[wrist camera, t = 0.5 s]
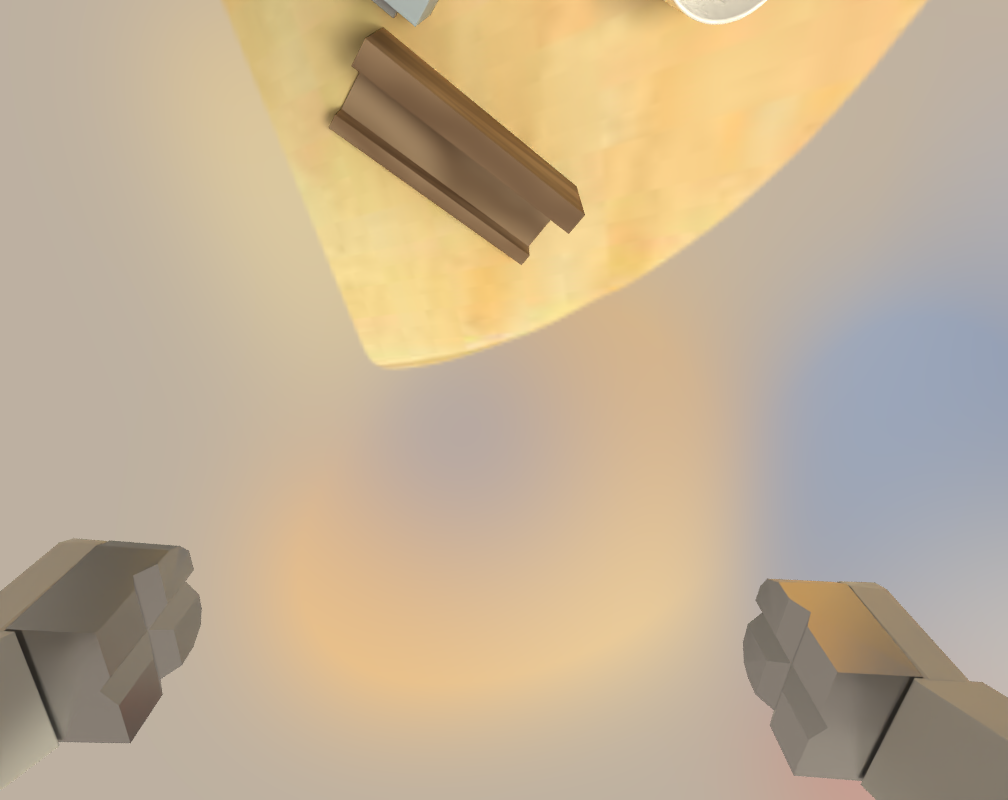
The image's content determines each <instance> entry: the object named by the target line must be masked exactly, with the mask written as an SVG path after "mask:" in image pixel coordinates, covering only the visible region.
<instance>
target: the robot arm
mask: <svg viewBox="0 0 1008 800" xmlns="http://www.w3.org/2000/svg"><path fill="white" fill-rule="evenodd" d="M193 569H194V568H193V565H192V561H191V557H190V553H189V551H188V550H186V549H184V548H182V547H181V546H172V545H158V544H146V543H134V542H121V541H100V540H87V539H71V540H67V541H64V542H60V543H58V544H57V545H56V546H55V547H53V548H52V549H51V550H50V551H49V552H47V553H46V554H45V555H44V556H42V558H40V559H39V560H38V561H36V562H35V563H34V564H33V565H32V566H30V567H29V568H28V569H27V570H26V571H24V572H23V573H22V574H21V575H20V576H18V577H17V578H16V579H15V580H14V581H12V582H11V583H10V584H9V585H7V586H6V587H5V588H4V589H3V590H1V591H0V791H1V790H2V789H3V788H5V787H6V786H7V785H9V784H10V783H11V782H12V781H14V780H15V779H16V778H18V777H19V776H20V775H22V774H23V773H24V772H25V771H27V770H28V769H30V768H31V767H32V766H33V765H35V764H36V763H37V762H39V761H40V760H41V759H43V758H44V757H45V756H47V755H48V754H49V753H51V752H52V751H53V750H54V749H56V748H57V747H58V746H59V742H95V743H131V741H132V740H133V739H134V737H135V735H136V734H137V732H138V731H139V729H140V728H141V726H142V725H143V723H144V722H145V720H146V719H147V717H148V716H149V714H150V713H151V711H152V709H153V708H154V707H155V705H156V704H157V702H158V701H159V699H160V698H161V696H162V687H161V678H163V677H164V676H166V675H167V674H169V673H170V672H172V671H173V670H175V669H177V668H178V667H180V666H181V665H182V664H183V662H184V661H185V659H186V658H187V656H188V654H189V652H190V651H191V650H192V648H193V646H194V643H195V640H196V637H197V634H198V631H199V628H200V625H201V609H202V608H201V603H200V597H199V594H198V593H197V592H196V591H195V590H194V589H193V588H192V587H191V586H190V585H189V584H188V583H187V582H185V581H186V580H187V578H188V577H189V576H190V574H191V573H192V571H193ZM756 602H757V604H758V605H759V607H760V609H761V611H762V613H761V614H760V615H759V616H758V617H756V618H755V619H754V620H752V621H751V622H750V623H749V624H748V626H747V630H746V634H745V637H744V641H743V651H744V664H745V668H746V672H747V675H748V679H749V681H750V683H751V685H752V688H753V690H754V692H755V694H756V695H757V696H758V697H759V698H760V699H761V700H763V701H764V702H765V703H766V704H767V705H769V706H770V707H771V708H772V709H773V710H774V712H773V716H772V720H771V723H770V726H771V729H772V731H773V733H774V735H775V737H776V739H777V741H778V743H779V745H780V747H781V750H782V752H783V754H784V756H785V758H786V760H787V762H788V764H789V766H790V768H791V771H792V772H793V775H794V776H807V777H820V778H833V779H845V780H857V781H862V783H861V785H862V786H863V787H864V788H865V789H866V790H867V791H868V792H869V793H870V794H871V795H872V796H873V797H874V798H875V799H876V800H1008V697H1006V696H1004V695H1003V694H1001V693H999V692H998V691H996V690H994V689H993V688H991V687H989V686H987V685H986V684H984V683H983V682H972V681H969V680H968V679H967V678H966V677H965V676H964V675H963V673H962V672H961V671H960V670H959V669H958V668H957V667H956V666H955V664H953V662H952V661H951V660H950V659H949V658H948V657H947V656H946V655H945V653H944V652H943V651H942V650H941V649H940V648H939V647H938V646H937V645H936V644H935V642H934V641H933V640H932V639H931V638H930V637H929V636H928V635H927V633H926V632H925V631H924V630H923V629H922V628H921V627H920V626H919V625H918V623H917V622H916V621H915V620H914V619H913V618H912V617H911V616H910V615H909V614H908V612H907V611H906V610H905V609H904V608H903V607H902V606H901V605H900V604H899V602H898V601H897V600H896V599H895V598H894V597H893V596H892V595H891V594H890V592H889V591H888V590H887V589H885V588H884V587H882V586H880V585H878V584H876V583H871V582H842V581H840V582H824V581H803V580H783V579H767V580H766V581H765V582H764V583H763V584H762V585H761V586H760V589H759V592H758V595H757V598H756Z"/></svg>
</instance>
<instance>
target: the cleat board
mask: <svg viewBox="0 0 1008 800" xmlns="http://www.w3.org/2000/svg"><path fill="white" fill-rule="evenodd" d="M352 67H353V68H355V69H356V70H357V71H359V72H360V73H359V75H358V77H357V79H356V81H355V83H354V85H353V87H352V89H351V91H350V93H349V95H348V97H347V99H346V101H345V103H344V105H343V107H342V109H341V110H340V111H339V112H338V113H336V114H335V116H334V118H333V120H332V122H331V124H330V126H329V128H330V129H331V130H333V131H334V132H335V133H337V134H338V135H340V136H341V137H342V138H344V139H345V140H347V141H348V142H350V143H351V144H352V145H354V146H355V147H357V148H358V149H359V150H361V151H362V152H364V153H365V154H366V155H368V156H369V157H371V158H372V159H373V160H375V161H376V162H378V163H379V164H380V165H382V166H383V167H385V168H386V169H387V170H389V171H390V172H392V173H393V174H394V175H396V176H397V177H399V178H400V179H401V180H403V181H404V182H406V183H407V184H408V185H410V186H411V187H413V188H414V189H415V190H417V191H418V192H420V193H421V194H422V195H424V196H425V197H427V198H428V199H430V200H431V201H432V202H434V203H435V204H437V205H438V206H439V207H441V208H442V209H444V210H445V211H446V212H448V213H449V214H451V215H452V216H453V217H455V218H456V219H458V220H459V221H460V222H462V223H463V224H465V225H466V226H467V227H469V228H470V229H472V230H473V231H474V232H476V233H477V234H479V235H480V236H481V237H483V238H484V239H486V240H487V241H488V242H490V243H491V244H493V245H494V246H495V247H497V248H498V249H500V250H501V251H503V252H504V253H505V254H507V255H508V256H510V257H511V258H512V259H514V260H515V261H517V262H518V263H519V264H521V265H522V264H523V263H524V261H525V260H526V259H527V258H528V257H529V245H530V244H531V243H532V242H533V240H534V239H535V238H536V237H537V236H538V234H539V233H540V232H541V231H542V229H543V228H544V227H545V226H546V225H547V223H548V222H549V221H550V220H551V221H553V222H554V223H555V224H557V225H558V226H559V227H560V228H562V229H563V230H564V231H566V232H567V233H568V234H569V233H570V232H571V231H572V229H573V228H574V227H575V226H576V225H577V224H578V222H579V221H580V220H581V219H582V218H583V217H584V215H585V214H584V210H583V207H582V204H581V200H580V197H579V194H578V190H577V187H576V186H575V185H574V184H573V183H572V182H570V181H569V180H568V179H567V178H565V177H564V176H563V175H562V174H561V173H559V172H558V171H557V170H556V169H555V168H553V167H552V166H551V165H550V164H548V163H547V162H546V161H545V160H544V159H542V158H541V157H540V156H539V155H538V154H536V153H535V152H534V151H533V150H531V149H530V148H529V147H528V146H527V145H525V144H524V143H523V142H522V141H521V140H519V139H518V138H517V137H516V136H514V135H513V134H512V133H511V132H510V131H508V130H507V129H506V128H505V127H504V126H502V125H501V124H500V123H499V122H497V121H496V120H495V119H494V118H493V117H491V116H490V115H489V114H488V113H487V112H485V111H484V110H483V109H482V108H480V107H479V106H478V105H477V104H476V103H474V102H473V101H472V100H471V99H469V98H468V97H467V96H466V95H465V94H463V93H462V92H461V91H460V90H459V89H457V88H456V87H455V86H454V85H452V84H451V83H450V82H449V81H448V80H446V79H445V78H444V77H443V76H442V75H440V74H439V73H438V72H437V71H435V70H434V69H433V68H432V67H431V66H429V65H428V64H427V63H426V62H425V61H423V60H422V59H421V58H420V57H418V56H417V55H416V54H415V53H414V52H412V51H411V50H410V49H409V48H408V47H406V46H405V45H404V44H403V43H401V42H400V41H399V40H398V39H397V38H395V37H394V36H393V35H392V34H391V33H389V32H388V31H387V30H386V29H384V28H381V29H380V30H378V31H376V32H375V33H373V34H371V35H370V36H368V37H366V38H365V39H364V41H363V43H362V45H361V47H360V49H359V52H358V54H357V56H356V58H355V60H354V62H353V64H352Z"/></svg>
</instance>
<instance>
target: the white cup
mask: <svg viewBox="0 0 1008 800" xmlns="http://www.w3.org/2000/svg"><path fill="white" fill-rule="evenodd" d="M664 1H665V2H667V3H668V4H669V5H670V6H672V7H673V8H675V9H677V10H678V11H680V12H682V13H684V14H685V15H687V16H689V17H690V18H692V19H694V20H696V21H698V22H701V23H706V24H726V23H730V22H734V21H736V20H739V19H741V18H743V17H745V16H747V15H749V14H750V13H752V12H754V11H755V10H756V9H758V8H759V7H760V6H761V5H763V4H764V3H765V2H766V1H767V0H664Z"/></svg>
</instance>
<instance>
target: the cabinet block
mask: <svg viewBox="0 0 1008 800" xmlns="http://www.w3.org/2000/svg"><path fill="white" fill-rule="evenodd" d="M372 1H373V2H374V3H376V4H377V5H378V6H379V7H380V8H382V9H383V10H384V11H385V12H386V13H388V14H389V15H390V16H391V17H392V18H394V17H396V15H397V13H400V14H401V15H402V16H403V17H404V18H406V19H407V20H408V21H409V22H410V23H411V24H413V25H414V26H415V27H416V26H417V25H418V24H419V23H421V22H422V21H423V20H424V19H426V18H427V17H428V16H429V15H431V13H432V11H433V9H434V7H435V5H436V4H437V2H438V0H372Z"/></svg>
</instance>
